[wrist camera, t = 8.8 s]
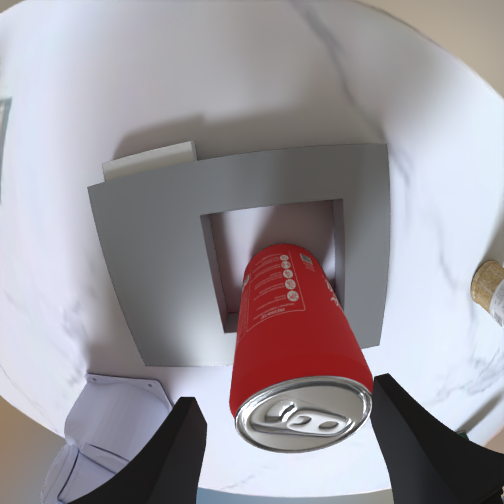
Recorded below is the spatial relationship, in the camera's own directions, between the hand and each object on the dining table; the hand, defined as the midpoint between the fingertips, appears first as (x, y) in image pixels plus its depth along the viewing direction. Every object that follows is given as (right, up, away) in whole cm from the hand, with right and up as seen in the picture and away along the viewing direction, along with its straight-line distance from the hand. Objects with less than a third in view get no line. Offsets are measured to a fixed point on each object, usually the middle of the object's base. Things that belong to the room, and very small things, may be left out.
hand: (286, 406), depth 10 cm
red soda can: (+1, +5, +9) cm, 11 cm away
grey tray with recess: (-2, +6, +9) cm, 11 cm away
